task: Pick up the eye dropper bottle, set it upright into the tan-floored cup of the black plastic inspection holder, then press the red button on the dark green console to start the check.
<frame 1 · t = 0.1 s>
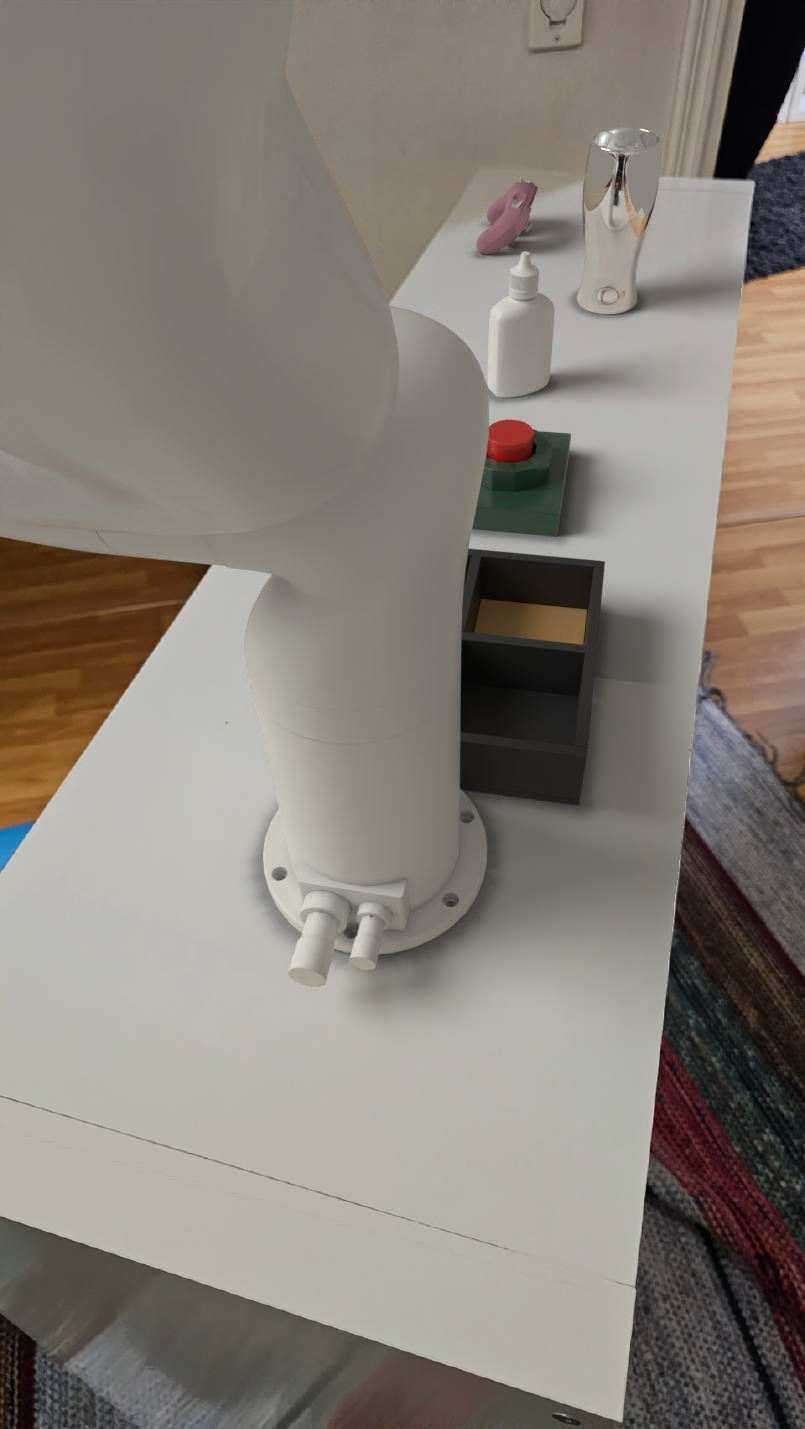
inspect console: (507, 490, 77), on the cabinet top
button: (509, 441, 74), point 4 cm above the cabinet top, slide at 0.1 cm
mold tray: (458, 685, 63), on the cabinet top
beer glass: (606, 303, 99), on the cabinet top
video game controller: (507, 241, 110), on the cabinet top
eye dropper bottle: (517, 389, 88), on the cabinet top
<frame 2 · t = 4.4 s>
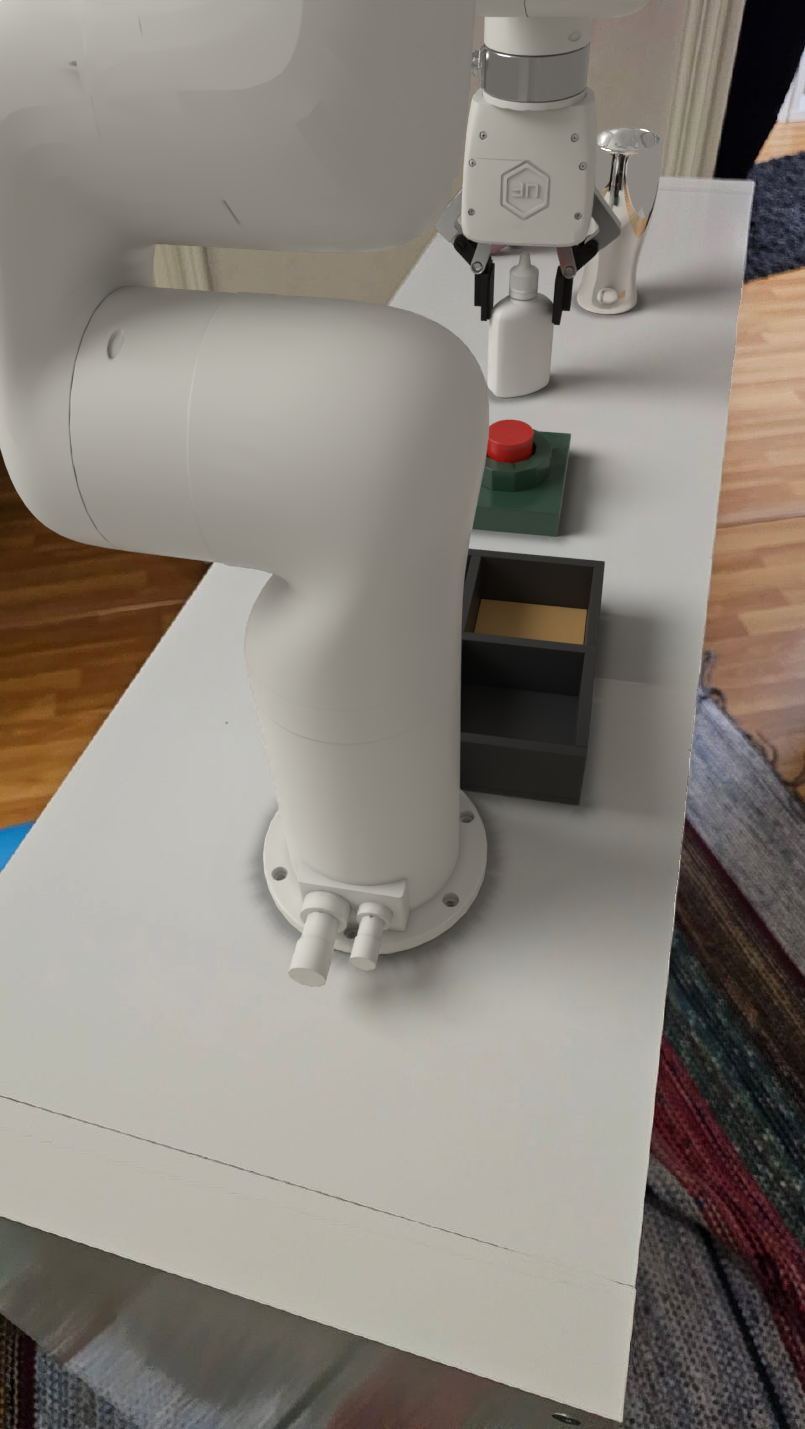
hand: (522, 313, 83), 7 cm above the cabinet top, tool pointing down, fingers closed on eye dropper bottle, 5 cm apart
eye dropper bottle: (517, 389, 88), on the cabinet top, touching gripper
everything else where it was.
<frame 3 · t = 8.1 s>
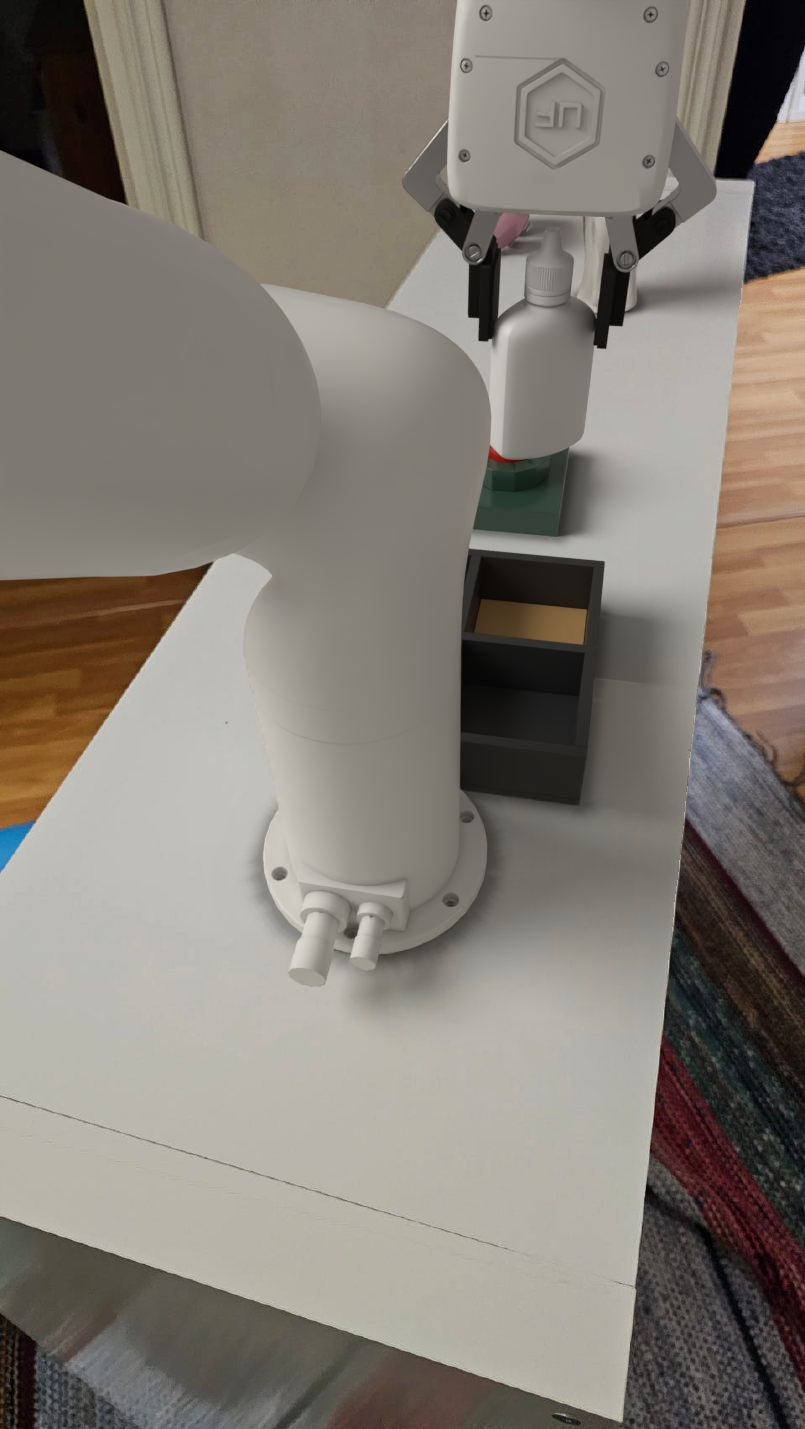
hand: (544, 330, 52), 21 cm above the cabinet top, tool pointing down, fingers closed on eye dropper bottle, 5 cm apart
eye dropper bottle: (535, 445, 57), point 14 cm above the cabinet top, touching gripper
everything else where it was.
when the fingers open (8 cm above the cabinet top, at t = 11.9 s): eye dropper bottle stays where it is, resting on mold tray.
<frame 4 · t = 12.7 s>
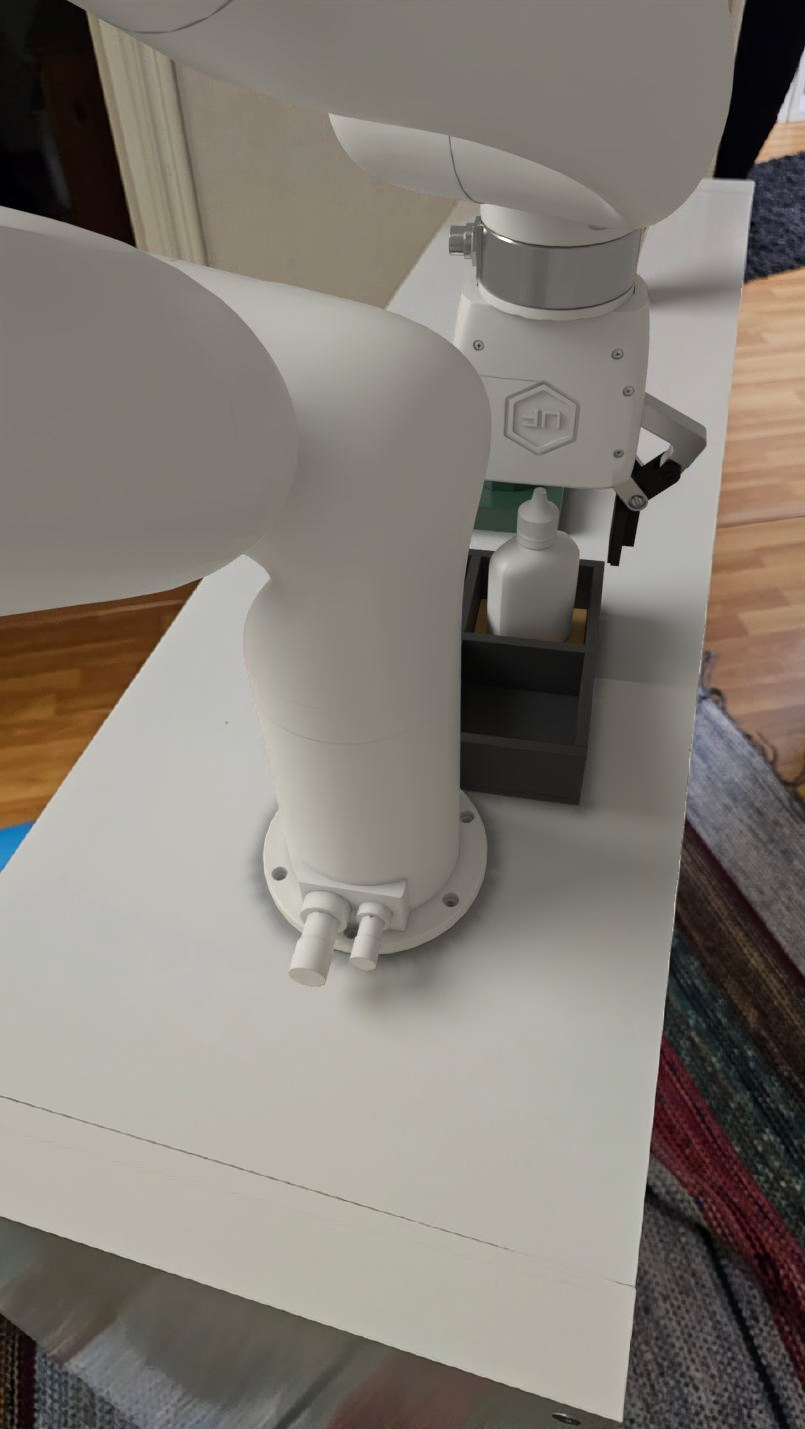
hand: (533, 544, 58), 9 cm above the cabinet top, tool pointing down, fingers open, 9 cm apart
eye dropper bottle: (528, 641, 65), point 1 cm above the cabinet top, touching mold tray
everything else where it was.
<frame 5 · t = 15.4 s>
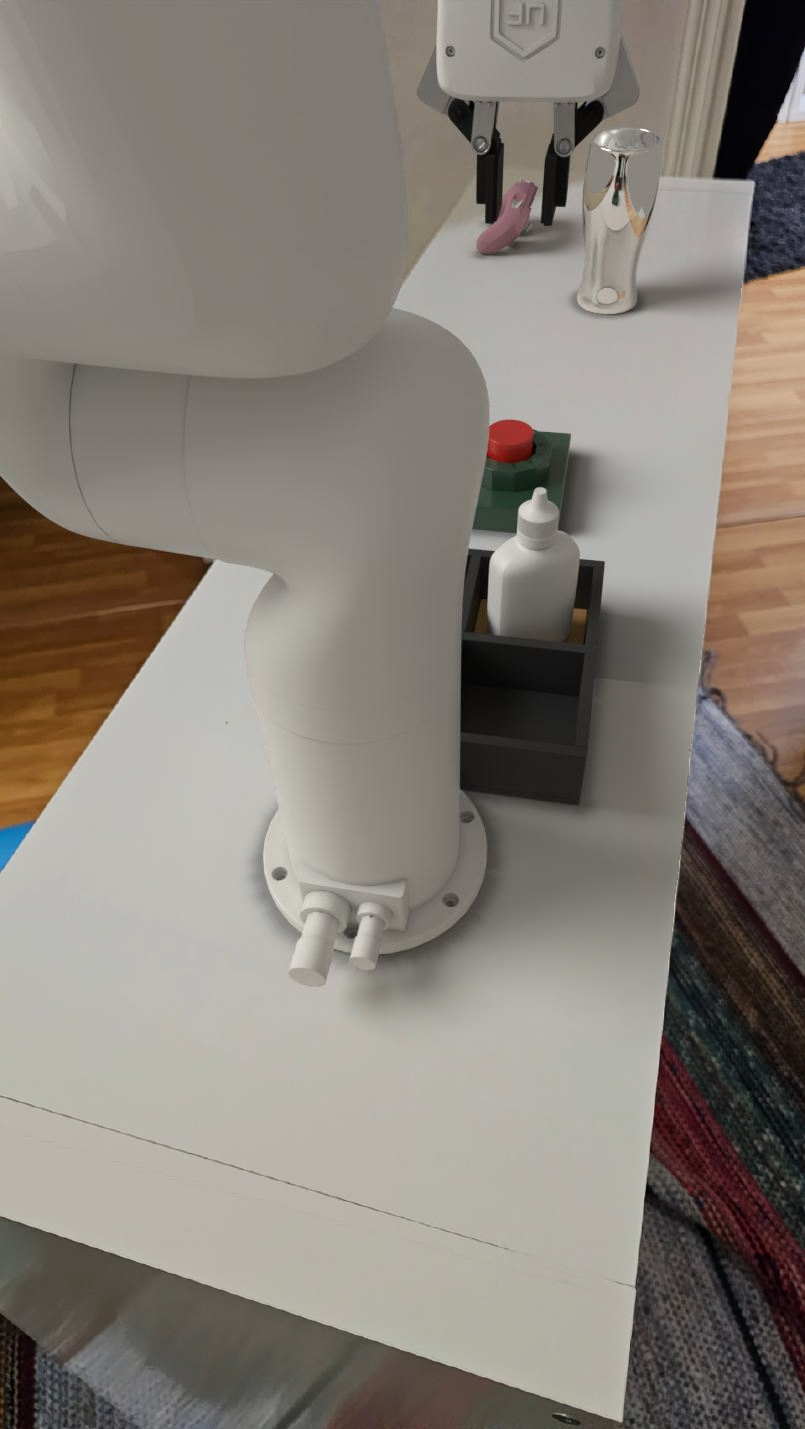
hand: (520, 214, 62), 21 cm above the cabinet top, tool pointing down, fingers open, 3 cm apart
nothing on the cabinet top moved.
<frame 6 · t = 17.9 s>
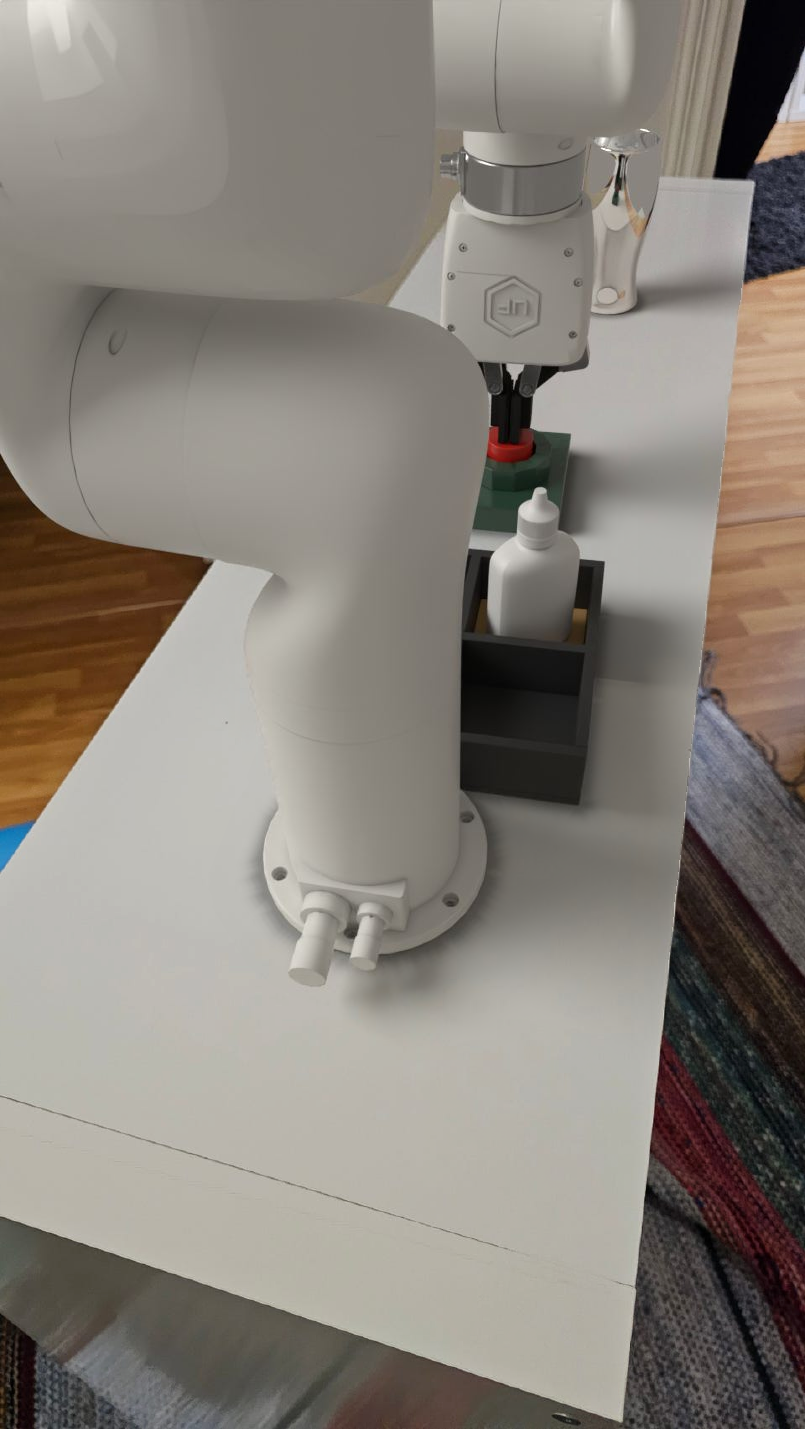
hand: (510, 433, 74), 5 cm above the cabinet top, tool pointing down, fingers closed
button: (509, 445, 74), point 4 cm above the cabinet top, slide at -0.2 cm, touching gripper
everything else where it was.
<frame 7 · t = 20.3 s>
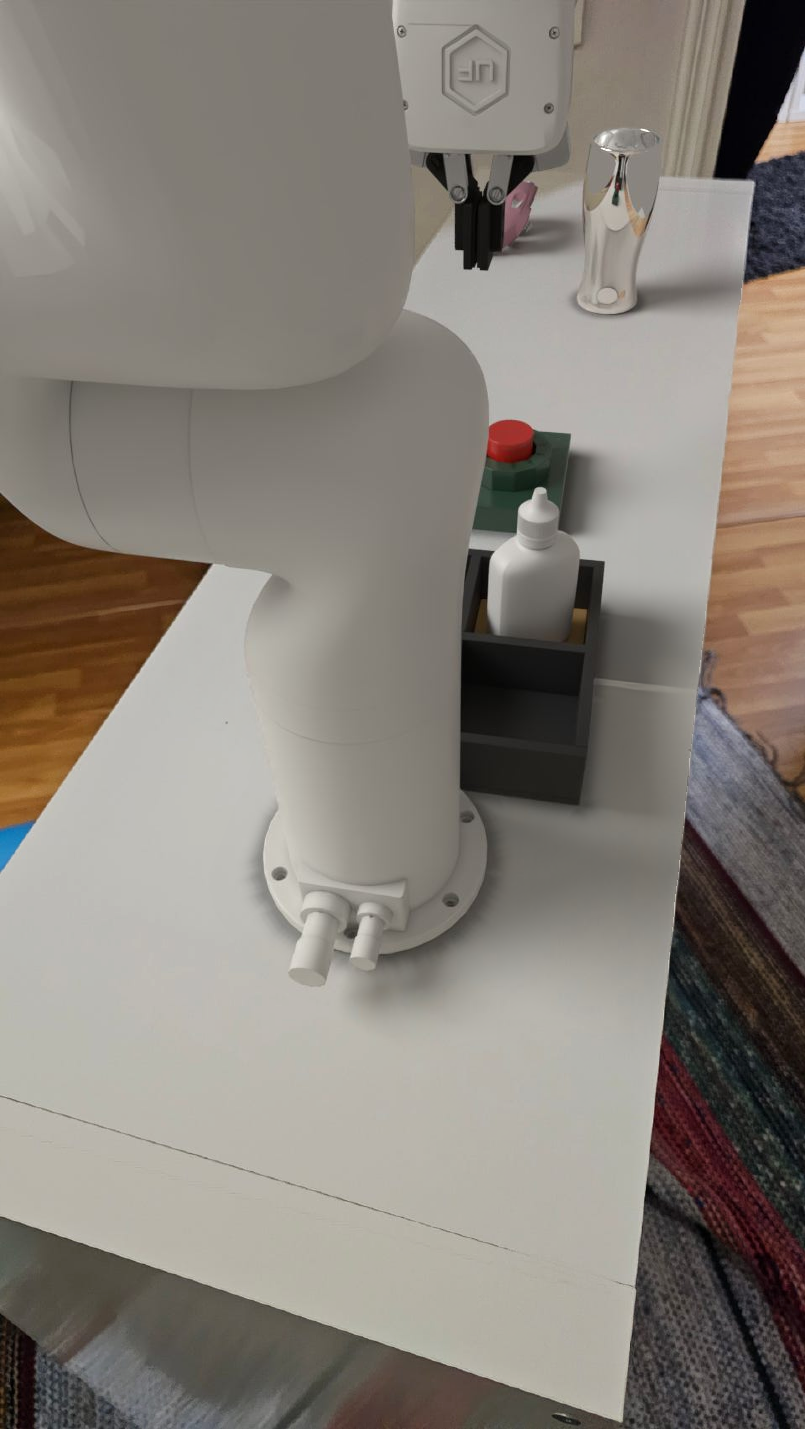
hand: (478, 261, 63), 19 cm above the cabinet top, tool pointing down, fingers closed
button: (509, 441, 74), point 4 cm above the cabinet top, slide at 0.1 cm
everything else where it was.
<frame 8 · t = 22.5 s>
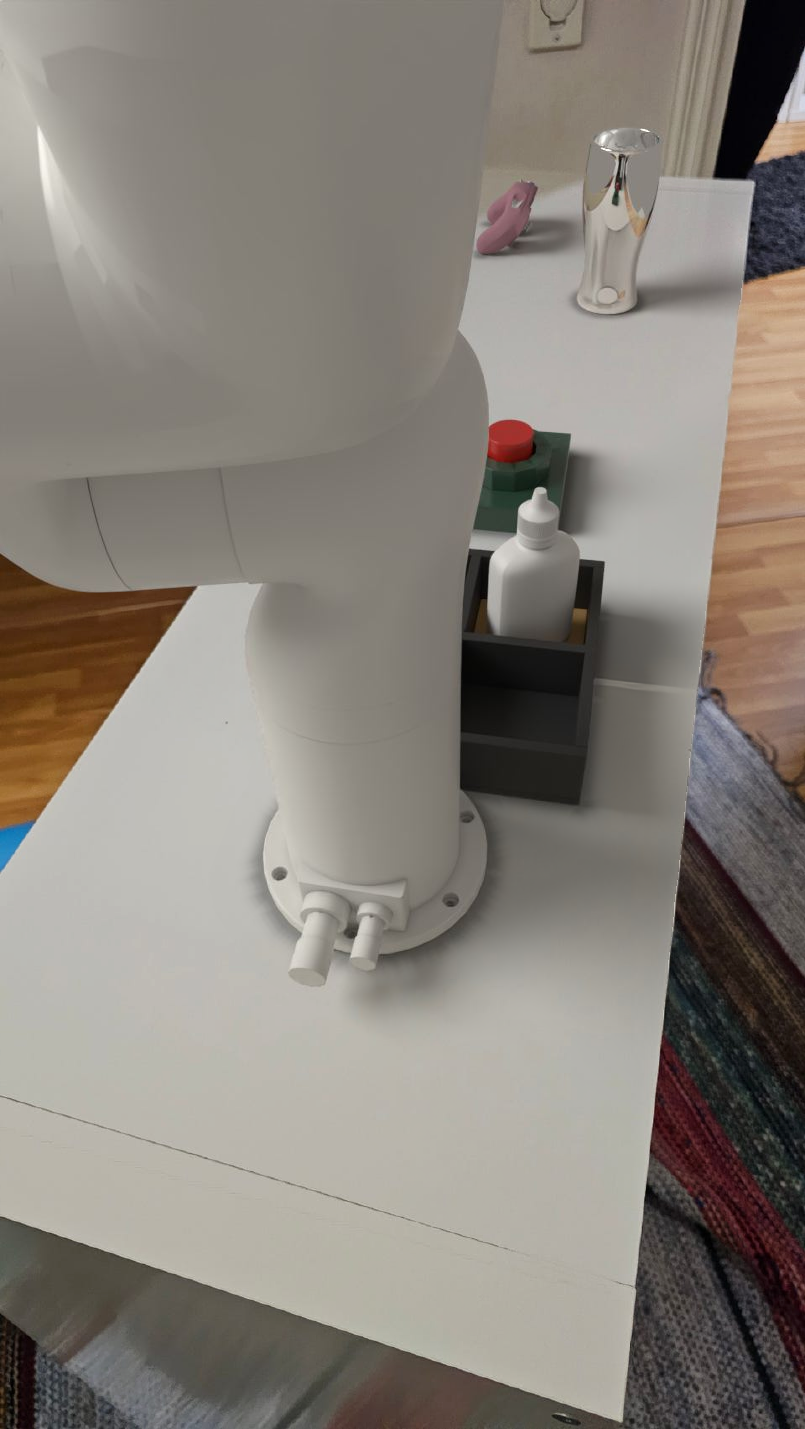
hand: (323, 140, 55), 27 cm above the cabinet top, tool pointing down, fingers closed
nothing on the cabinet top moved.
at the end: eye dropper bottle 0.0 cm from the target spot in the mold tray, point 0.6 cm above the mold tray's base; eye dropper bottle tilted 0°; button pushed in 1.1 cm at the most during the clip, back to where it started at the end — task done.
